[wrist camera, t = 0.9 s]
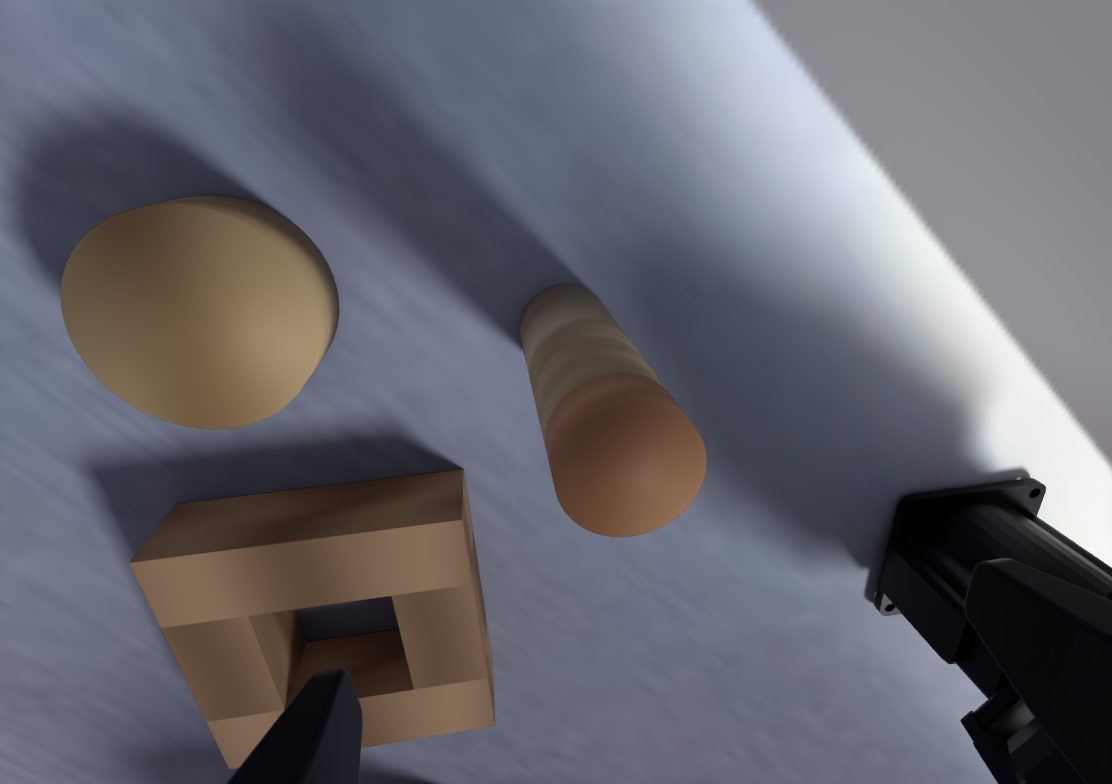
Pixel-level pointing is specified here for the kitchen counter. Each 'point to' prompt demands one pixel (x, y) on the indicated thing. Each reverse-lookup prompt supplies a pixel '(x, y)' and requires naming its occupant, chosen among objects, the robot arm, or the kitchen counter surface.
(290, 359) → the tan rounded disc
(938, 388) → the kitchen counter surface
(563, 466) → the wooden dowel
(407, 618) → the square wooden frame
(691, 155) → the kitchen counter surface
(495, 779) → the kitchen counter surface
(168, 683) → the kitchen counter surface
